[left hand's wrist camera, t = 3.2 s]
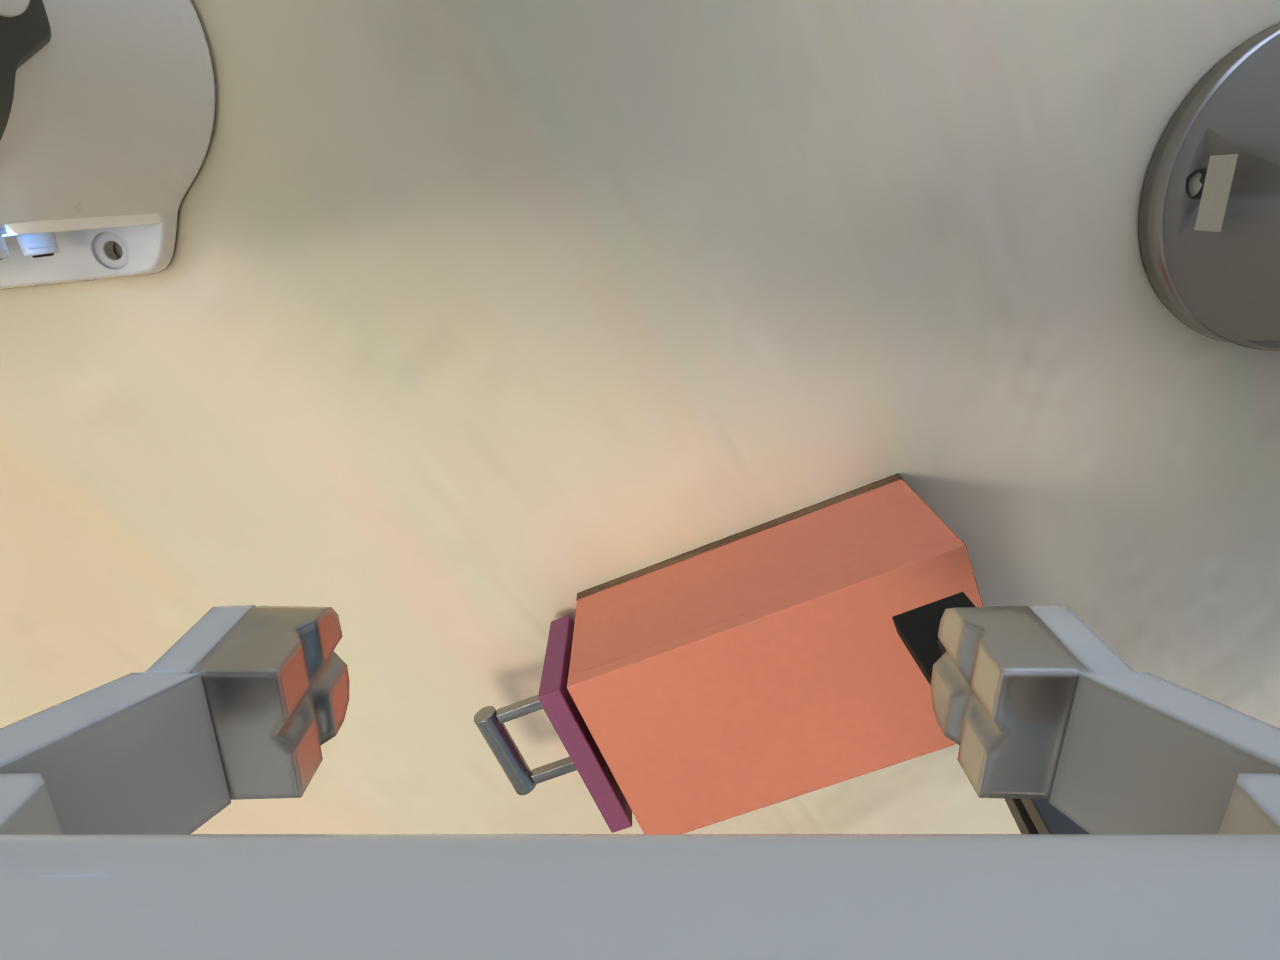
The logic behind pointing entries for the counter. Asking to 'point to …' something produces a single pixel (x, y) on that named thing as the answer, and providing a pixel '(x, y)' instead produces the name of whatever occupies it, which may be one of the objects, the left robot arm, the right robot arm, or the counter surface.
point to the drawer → (567, 727)
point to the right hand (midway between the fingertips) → (972, 748)
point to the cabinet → (766, 658)
